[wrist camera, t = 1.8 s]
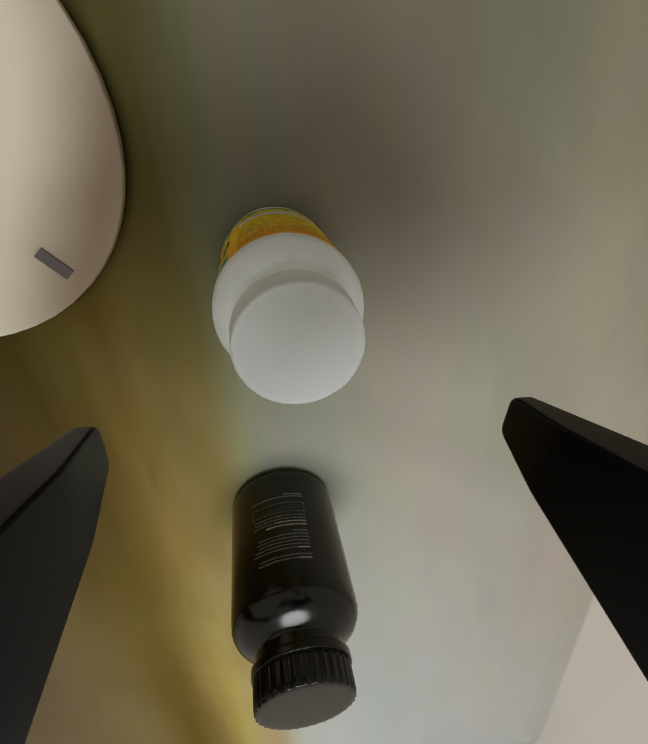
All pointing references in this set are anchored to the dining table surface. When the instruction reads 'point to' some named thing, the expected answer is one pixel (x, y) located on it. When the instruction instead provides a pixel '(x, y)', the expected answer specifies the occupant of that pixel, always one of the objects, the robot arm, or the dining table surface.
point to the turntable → (53, 165)
